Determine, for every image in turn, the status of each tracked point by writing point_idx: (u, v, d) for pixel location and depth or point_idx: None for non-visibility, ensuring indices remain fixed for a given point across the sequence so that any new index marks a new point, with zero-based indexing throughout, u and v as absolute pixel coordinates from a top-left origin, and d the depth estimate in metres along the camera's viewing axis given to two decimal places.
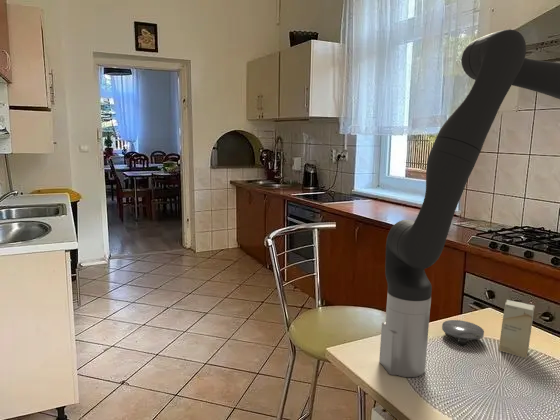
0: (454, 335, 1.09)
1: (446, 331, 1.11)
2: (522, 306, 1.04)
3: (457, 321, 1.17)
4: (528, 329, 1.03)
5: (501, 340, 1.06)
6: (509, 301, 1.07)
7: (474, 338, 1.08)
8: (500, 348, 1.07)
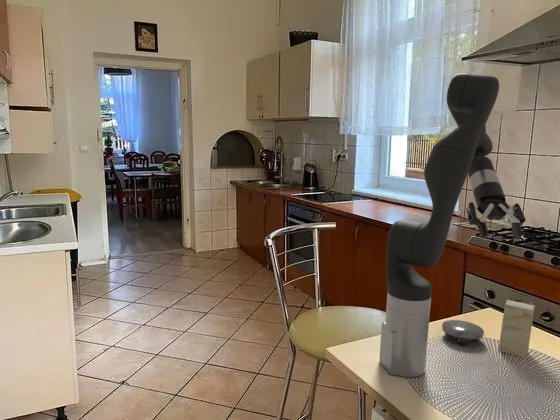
0: (454, 335, 1.09)
1: (446, 331, 1.11)
2: (522, 306, 1.04)
3: (457, 321, 1.17)
4: (528, 329, 1.03)
5: (501, 340, 1.06)
6: (509, 301, 1.07)
7: (474, 338, 1.08)
8: (500, 348, 1.07)
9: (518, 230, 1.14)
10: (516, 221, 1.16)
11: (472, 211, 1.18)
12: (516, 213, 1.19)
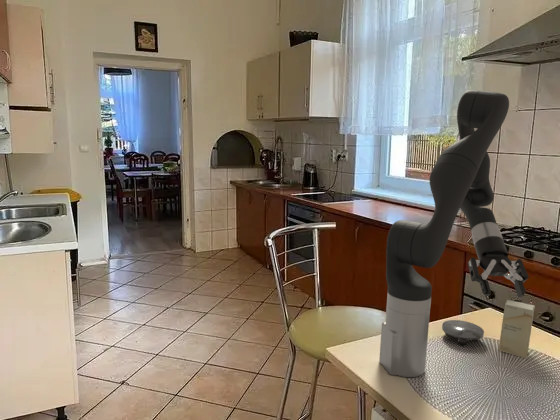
0: (454, 335, 1.09)
1: (446, 331, 1.11)
2: (522, 306, 1.04)
3: (457, 321, 1.17)
4: (528, 329, 1.03)
5: (501, 340, 1.06)
6: (509, 301, 1.07)
7: (474, 338, 1.08)
8: (500, 348, 1.07)
9: (521, 289, 1.12)
10: (519, 279, 1.13)
11: (474, 267, 1.15)
12: (519, 269, 1.16)
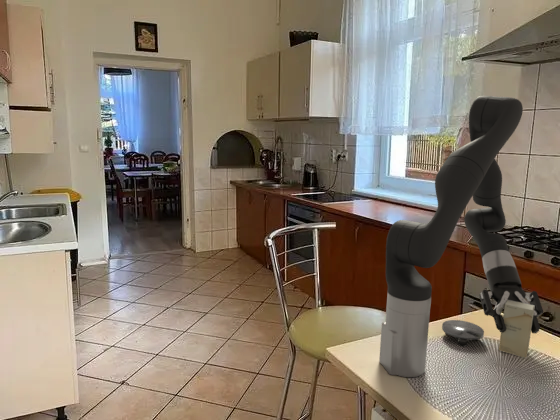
0: (454, 335, 1.09)
1: (446, 331, 1.11)
2: (522, 306, 1.04)
3: (457, 321, 1.17)
4: (528, 329, 1.03)
5: (501, 340, 1.06)
6: (509, 301, 1.07)
7: (474, 338, 1.08)
8: (500, 348, 1.07)
9: (535, 324, 1.05)
10: None
11: (487, 301, 1.08)
12: (533, 302, 1.09)
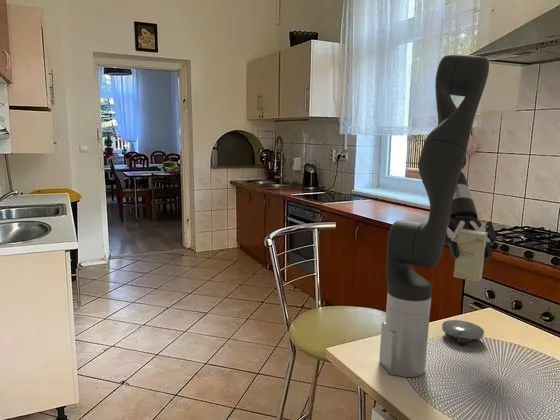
0: (454, 335, 1.09)
1: (446, 331, 1.11)
2: (475, 232, 1.08)
3: (457, 321, 1.17)
4: (480, 253, 1.06)
5: (455, 266, 1.10)
6: (464, 229, 1.11)
7: (474, 338, 1.08)
8: (454, 274, 1.10)
9: (488, 250, 1.08)
10: None
11: None
12: (488, 231, 1.13)
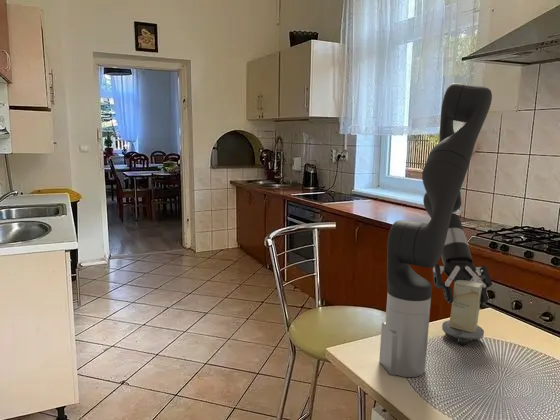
0: (454, 335, 1.09)
1: (446, 331, 1.11)
2: (470, 284, 1.10)
3: None
4: (475, 305, 1.09)
5: (451, 317, 1.12)
6: (459, 280, 1.13)
7: (474, 338, 1.08)
8: (450, 324, 1.13)
9: (484, 296, 1.10)
10: (482, 285, 1.12)
11: (437, 274, 1.14)
12: (483, 276, 1.15)
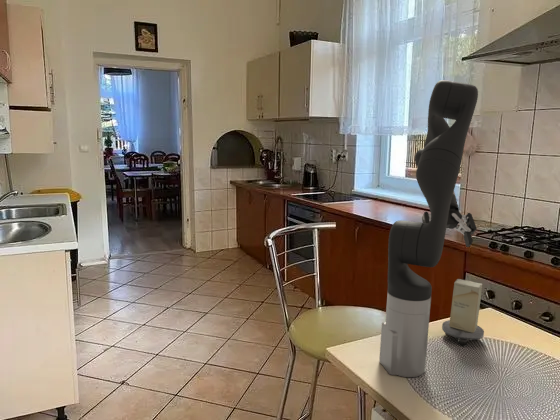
0: (454, 335, 1.09)
1: (446, 331, 1.11)
2: (470, 284, 1.10)
3: None
4: (475, 305, 1.09)
5: (451, 317, 1.12)
6: (459, 280, 1.13)
7: (474, 338, 1.08)
8: (450, 324, 1.13)
9: (469, 238, 1.20)
10: (467, 230, 1.22)
11: (426, 220, 1.24)
12: (468, 222, 1.25)
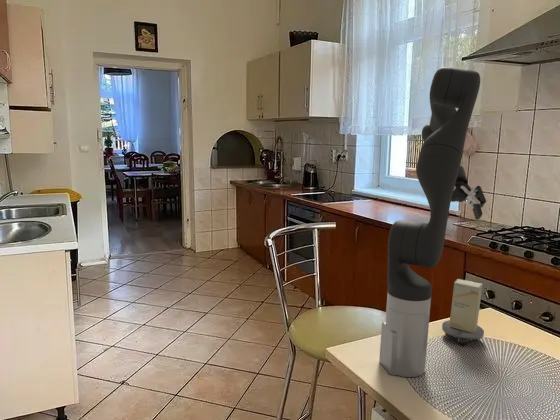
0: (454, 335, 1.09)
1: (446, 331, 1.11)
2: (470, 284, 1.10)
3: None
4: (475, 305, 1.09)
5: (451, 317, 1.12)
6: (459, 280, 1.13)
7: (474, 338, 1.08)
8: (450, 324, 1.13)
9: (478, 211, 1.18)
10: (477, 202, 1.19)
11: None
12: (477, 195, 1.22)
